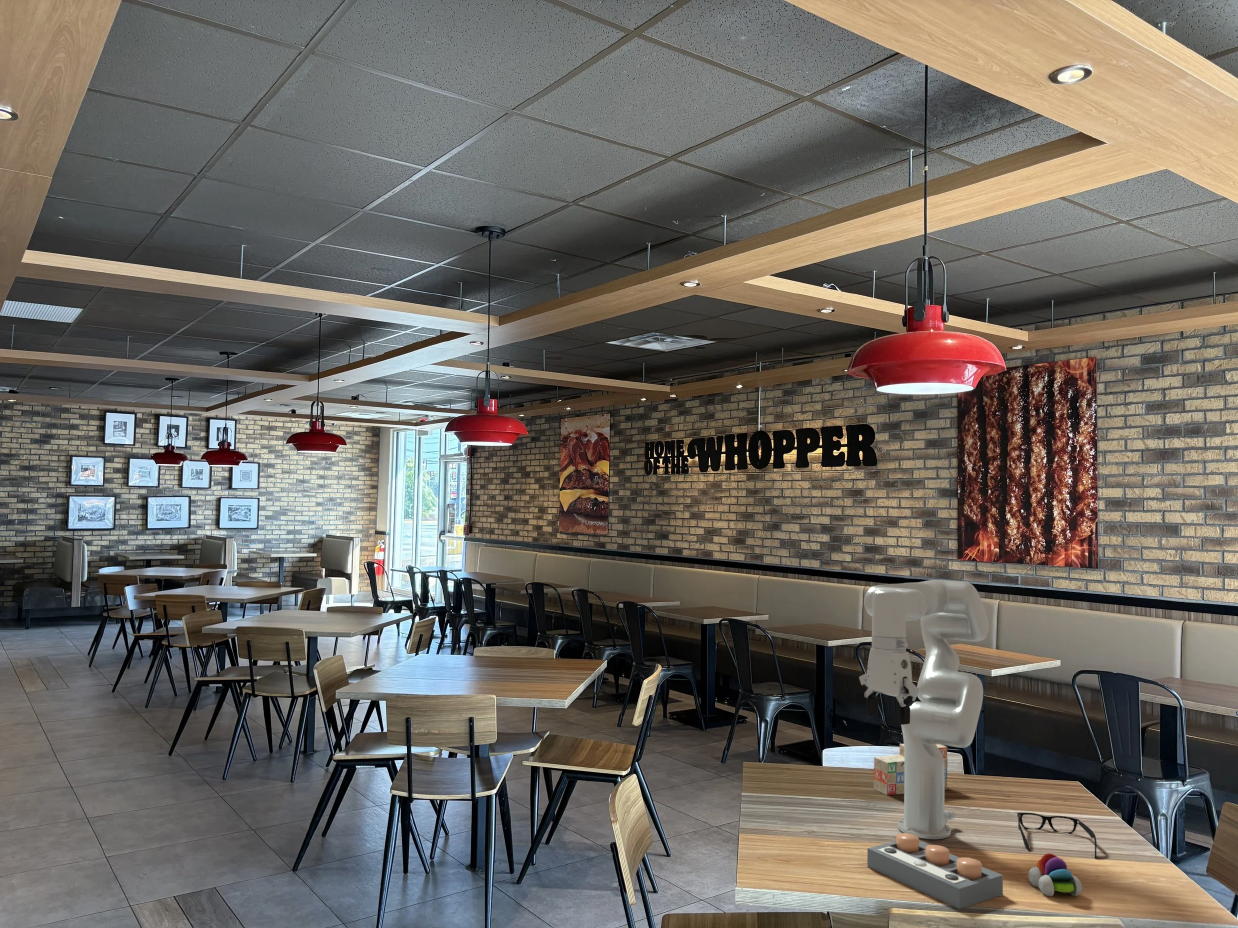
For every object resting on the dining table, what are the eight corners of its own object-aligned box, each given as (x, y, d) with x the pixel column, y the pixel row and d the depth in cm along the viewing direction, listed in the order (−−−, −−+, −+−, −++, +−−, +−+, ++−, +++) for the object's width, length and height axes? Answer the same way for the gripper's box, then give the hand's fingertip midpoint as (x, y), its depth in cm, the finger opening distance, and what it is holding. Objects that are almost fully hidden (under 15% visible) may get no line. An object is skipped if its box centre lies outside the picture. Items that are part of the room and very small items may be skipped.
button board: (909, 854, 202) (909, 835, 202) (1002, 894, 182) (1002, 872, 182) (867, 866, 195) (867, 846, 195) (959, 909, 174) (959, 886, 174)
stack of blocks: (887, 795, 245) (887, 751, 246) (873, 789, 251) (873, 745, 252) (947, 789, 253) (947, 746, 254) (932, 782, 259) (932, 740, 260)
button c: (966, 870, 186) (966, 855, 186) (986, 878, 181) (986, 863, 182) (952, 875, 183) (952, 859, 183) (971, 883, 179) (971, 868, 179)
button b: (935, 857, 192) (935, 843, 193) (954, 865, 188) (954, 850, 188) (920, 861, 190) (920, 847, 190) (939, 869, 186) (939, 854, 186)
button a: (906, 845, 199) (906, 831, 199) (923, 852, 195) (923, 838, 195) (891, 849, 197) (892, 835, 197) (909, 856, 193) (909, 842, 193)
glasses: (1082, 838, 219) (1082, 817, 219) (1101, 861, 202) (1101, 838, 203) (1011, 830, 223) (1011, 809, 224) (1023, 851, 206) (1023, 830, 207)
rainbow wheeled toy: (1062, 881, 189) (1062, 847, 190) (1087, 901, 180) (1087, 865, 180) (1023, 881, 189) (1023, 846, 189) (1047, 900, 179) (1047, 864, 180)
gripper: (929, 648, 195) (929, 726, 194) (873, 638, 210) (872, 710, 209) (905, 649, 192) (904, 728, 190) (849, 639, 207) (848, 712, 206)
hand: (887, 719), depth 200 cm, fingers open, 9 cm apart
